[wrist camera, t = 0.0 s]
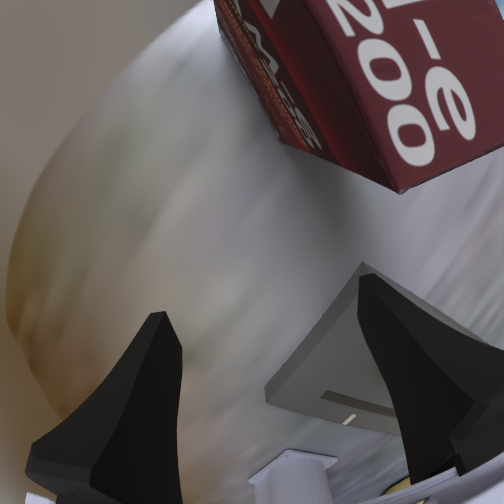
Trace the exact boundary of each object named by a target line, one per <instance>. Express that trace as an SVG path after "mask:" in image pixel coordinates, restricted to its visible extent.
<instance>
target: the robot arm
mask: <svg viewBox="0 0 504 504" xmlns="http://www.w3.org/2000/svg"><path fill="white" fill-rule="evenodd" d="M357 318H358V321H359V324H360V327H361V330H362V333H363V336H364V339H365V341H366V343H367V345H368V348H369V350H370V352H371V354H372V356H373V358H374V360H375V362H376V364H377V366H378V369H379V371H380V373H381V375H382V377H383V379H384V381H385V384H386V386H387V389H388V391H389V394H390V397H391V400H392V403H393V406H394V410H395V413H396V417H397V420H398V424H399V428H400V431H401V436H402V440H403V444H404V449H405V454H406V459H407V465H408V471H409V478H410V484H411V486H409V487H406V488H403V489H401V490H398V491H395V492H392V493H389V494H386V495H383V496H380V497H377V498H374V499H370V500H367V501H364V502H360V503H357V504H417V503H420V502H422V501H424V502H423V503H422V504H504V350H501V349H498V348H496V347H493V346H490V345H487V344H485V343H482V342H480V341H478V340H476V339H473V338H471V337H469V336H467V335H465V334H463V333H461V332H459V331H457V330H455V329H453V328H452V327H450V326H448V325H446V324H444V323H443V322H441V321H439V320H438V319H436V318H435V317H433V316H432V315H430V314H429V313H427V312H426V311H424V310H423V309H421V308H420V307H418V306H417V305H416V304H414V303H413V302H411V301H410V300H409V299H407V298H406V297H405V296H403V295H402V294H401V293H400V292H398V291H397V290H396V289H394V288H393V287H392V286H391V285H389V284H388V283H387V282H385V281H384V280H383V279H382V278H380V277H379V276H378V275H376V274H375V273H372V274H367V275H362V276H359V289H358V306H357ZM181 380H182V346H181V344H180V342H179V340H178V338H177V335H176V333H175V331H174V329H173V327H172V325H171V322H170V320H169V318H168V316H167V313H166V311H162V312H155V313H150V315H149V316H148V318H147V319H146V321H145V322H144V324H143V325H142V327H141V328H140V330H139V331H138V333H137V334H136V336H135V337H134V339H133V340H132V342H131V343H130V345H129V346H128V348H127V349H126V351H125V352H124V354H123V355H122V357H121V358H120V359H119V361H118V362H117V363H116V365H115V366H114V368H113V369H112V370H111V372H110V373H109V374H108V376H107V377H106V378H105V379H104V381H103V382H102V383H101V384H100V385H99V386H98V388H97V389H96V390H95V391H94V392H93V393H92V394H91V395H90V396H89V397H88V398H87V399H86V400H85V401H84V402H83V403H82V404H81V405H80V406H79V407H78V408H77V409H76V410H75V411H74V412H73V413H72V414H71V415H70V416H69V417H67V418H66V419H65V420H64V421H63V422H61V423H60V424H59V425H58V426H57V427H55V428H54V429H52V430H51V431H50V432H48V433H47V434H45V435H44V436H43V437H41V438H40V439H38V440H37V441H35V442H33V443H32V446H31V450H30V453H29V457H28V461H27V465H26V469H25V473H26V475H27V477H28V478H29V479H31V480H32V481H34V482H35V483H37V484H38V485H40V486H42V487H43V488H45V489H47V490H49V491H50V492H52V493H54V494H56V495H57V499H56V501H54V500H52V499H49V498H46V497H43V496H40V495H36V494H33V493H30V492H28V493H27V496H26V501H25V504H183V501H182V495H181V488H180V479H179V469H178V455H177V417H178V407H179V398H180V389H181ZM337 461H338V458H336V457H330V456H324V455H318V454H312V453H306V452H301V451H296V450H291V449H289V450H286V451H285V452H283V453H282V454H281V455H280V456H278V457H277V458H276V459H275V460H273V461H272V462H271V463H270V464H268V465H267V466H266V467H264V468H263V469H262V470H260V471H259V472H258V473H256V474H255V475H254V476H252V477H251V478H250V479H248V482H249V483H252V484H254V491H255V504H333V501H332V496H331V492H330V488H329V483H328V479H327V475H326V470H327V469H328V468H329V467H331V466H332V465H333V464H335V463H336V462H337Z"/></svg>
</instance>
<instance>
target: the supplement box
mask: <svg viewBox="0 0 504 504" xmlns="http://www.w3.org/2000/svg"><path fill="white" fill-rule="evenodd" d="M213 1H214V6H215V11H216V17H217V23H218V27H219V33H220V34H221V36H222V38H223V39H224V41H225V43H226V44H227V46H228V48H229V49H230V51H231V53H232V54H233V56H234V58H235V59H236V61H237V63H238V65H239V66H240V68H241V70H242V71H243V73H244V75H245V76H246V78H247V80H248V82H249V84H250V85H251V87H252V89H253V91H254V93H255V95H256V97H257V99H258V100H259V102H260V104H261V106H262V108H263V110H264V112H265V114H266V117H267V119H268V121H269V123H270V125H271V127H272V129H273V131H274V133H275V135H276V137H277V139H278V141H279V142H282V143H285V144H287V145H290V146H293V147H295V148H298V149H301V150H303V151H305V152H308V153H310V154H313V155H315V156H318V157H320V158H322V159H325V160H327V161H329V162H332V163H334V164H336V165H339V166H341V167H344V168H345V169H347V170H350V171H352V172H354V173H357V174H359V175H361V176H363V177H365V178H367V179H370V180H372V181H374V182H376V183H378V184H380V185H382V186H384V187H386V188H388V189H390V190H392V191H394V192H396V193H397V194H404V193H405V192H406V191H407V190H408V189H410V188H413V187H416V186H418V185H420V184H422V183H424V182H427V181H429V180H431V179H433V178H435V177H437V176H440V175H442V174H444V173H446V172H449V171H451V170H453V169H455V168H457V167H460V166H462V165H464V164H466V163H468V162H471V161H473V160H475V159H477V158H479V157H482V156H484V155H486V154H488V153H490V152H493V151H495V150H497V149H499V148H501V147H503V146H504V20H503V18H502V15H501V13H500V11H499V8H498V6H497V4H496V2H495V0H213Z"/></svg>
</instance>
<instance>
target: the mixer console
mask: <svg viewBox="0 0 504 504" xmlns="http://www.w3.org/2000/svg"><path fill="white" fill-rule="evenodd" d="M372 273H375V274H376V275H378V276H379V277H380V278H382V279H383V280H384V281H385V282H387V283H388V284H389V285H391V286H392V287H393V288H394V289H396V290H397V291H398V292H400V293H401V294H402V295H403V296H405V297H406V298H407V299H409V300H410V301H411V302H413V303H414V304H416V305H417V306H418V307H420V308H421V309H423V310H424V311H426V312H427V313H429V314H430V315H432V316H433V317H435V318H436V319H438V320H439V321H441V322H443V323H444V324H446V325H448V326H450V327H452V328H453V329H455V330H457V331H459V332H461V333H463V334H465V335H467V336H469V337H471V338H473V339H476V340H478V341H480V342H482V343H485V344H487V345H489V344H488V343H486V342H485V341H483V340H482V339H480V338H479V337H478V336H476V335H475V334H473V333H472V332H470V331H469V330H467V329H466V328H464V327H463V326H461V325H460V324H459V323H457V322H456V321H454V320H453V319H451V318H450V317H448V316H447V315H445V314H444V313H442V312H441V311H439V310H438V309H436V308H435V307H433V306H432V305H430V304H428V303H427V302H425V301H424V300H422V299H421V298H419V297H418V296H416V295H415V294H413V293H412V292H410V291H408V290H407V289H405V288H404V287H402V286H401V285H399V284H397V283H396V282H394V281H393V280H391V279H390V278H388V277H386V276H385V275H383V274H382V273H380V272H378V271H377V270H375V269H373V268H372V267H370V266H369V265H367V264H365V263H364V262H362V263H361V265H360V266H359V267H358V269H357V270H356V272H355V273H354V274H353V276H352V277H351V279H350V280H349V281H348V283H347V284H346V286H345V287H344V288H343V290H342V291H341V292H340V294H339V295H338V296H337V298H336V299H335V300H334V302H333V303H332V304H331V306H330V307H329V308H328V310H327V311H326V312H325V314H324V315H323V316H322V318H321V319H320V320H319V321H318V323H317V324H316V325H315V327H314V328H313V329H312V330H311V332H310V333H309V334H308V335H307V337H306V338H305V339H304V340H303V342H302V343H301V344H300V345H299V347H298V348H297V349H296V350H295V352H294V353H293V354H292V355H291V356H290V358H289V359H288V360H287V361H286V362H285V364H284V365H283V366H282V367H281V368H280V370H279V371H278V372H277V373H276V374H275V375H274V377H273V378H272V379H271V380H270V381H269V382H268V384H267V385H266V386H265V395H266V403H268V404H271V405H275V406H278V407H281V408H285V409H288V410H292V411H295V412H299V413H302V414H306V415H310V416H313V417H317V418H321V419H325V420H329V421H333V422H338V423H342V424H343V425H351V426H356V427H360V428H365V429H370V430H375V431H381V432H386V433H392V434H398V435H401V431H400V428H399V424H398V420H397V417H396V413H395V410H394V406H393V403H392V400H391V397H390V394H389V391H388V389H387V386H386V384H385V381H384V379H383V377H382V375H381V373H380V371H379V369H378V366H377V364H376V362H375V360H374V358H373V356H372V354H371V352H370V350H369V348H368V345H367V343H366V341H365V339H364V336H363V333H362V330H361V327H360V324H359V321H358V318H357V306H358V289H359V276H362V275H367V274H372Z"/></svg>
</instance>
